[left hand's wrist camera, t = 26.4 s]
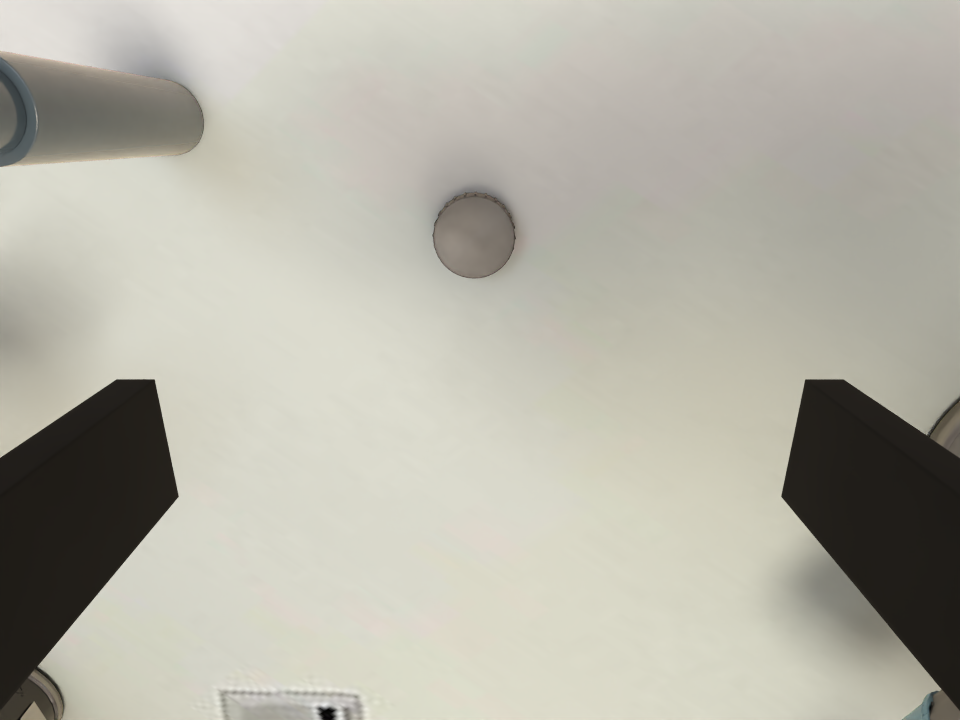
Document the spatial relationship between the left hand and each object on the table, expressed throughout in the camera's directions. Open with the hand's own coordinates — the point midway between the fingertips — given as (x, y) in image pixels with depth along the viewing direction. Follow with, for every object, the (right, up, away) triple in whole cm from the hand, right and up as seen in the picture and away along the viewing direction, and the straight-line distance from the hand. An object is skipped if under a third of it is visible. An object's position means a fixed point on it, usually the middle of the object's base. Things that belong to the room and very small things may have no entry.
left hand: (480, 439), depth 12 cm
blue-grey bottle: (-18, +16, +23) cm, 33 cm away
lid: (0, +9, +23) cm, 25 cm away
